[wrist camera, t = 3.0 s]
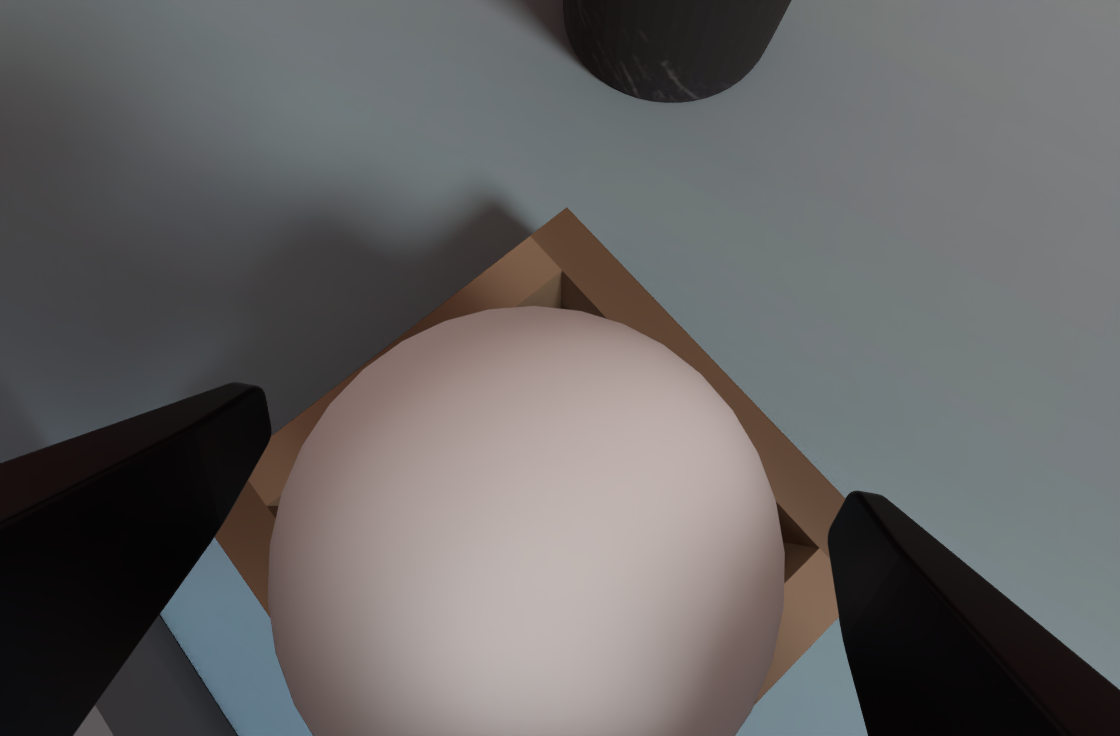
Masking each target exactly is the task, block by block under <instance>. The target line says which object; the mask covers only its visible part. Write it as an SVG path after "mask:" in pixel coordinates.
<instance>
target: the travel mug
mask: <svg viewBox="0 0 1120 736" xmlns="http://www.w3.org/2000/svg"><path fill="white" fill-rule="evenodd" d="M790 2H791V0H563V11H564V20H565V26H566V30H567V33H568V36H569V39H570V42H571V44H572V46H573V48H574V50H575V52H576V54H577V55H578V56H579V58H580V59H581V61H582V62H583V63H584V64H585V65H586V67H587V68H588V69H589V70H590V71H591V72H592V73H593V74H595V75H596V76H597V77H598V78H600V79H601V80H602V81H604V82H605V83H607V84H608V85H610V86H611V87H613V88H615V89H617V90H619V91H621V92H624V93H626V94H629V95H631V96H634V97H637V98H641V99H646V100H650V101H657V102H687V101H695V100H699V99H703V98H707V97H710V96H713V95H715V94H718V93H720V92H722V91H724V90H726V89H728V88H730V87H731V86H733V85H734V84H736V83H737V82H738V81H740V80H741V79H742V78H743V77H744V76H745V75H747V74H748V73H749V72H750V71H751V70H752V68H753V67H754V66H755V65H756V63H757V62H758V61H759V60H760V58H761V56H762V54H763V53H764V51H765V49H766V48H767V46H768V44H769V42H770V40H771V39H772V37H773V35H774V33H775V31H776V29H777V27H778V25H779V23H780V21H781V19H782V18H783V16H784V14H785V12H786V10H787V8H788V6H789V4H790Z"/></svg>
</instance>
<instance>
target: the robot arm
mask: <svg viewBox="0 0 1120 736" xmlns="http://www.w3.org/2000/svg"><path fill="white" fill-rule="evenodd" d="M270 438H271V423H270V418H269V412H268V407H267V401H266V396H265V393H264V391H263V389H262V388H260V387H258V386H255V385H249V384H243V383H236V382H235V383H229V384H226V385H224V386H221V387H218V388H215V389H212V390H209V391H206V392H204V393H201V394H198V395H195V396H192V397H189V398H186V399H183V400H181V401H178V402H175V403H172V404H169V405H166V406H163V407H161V408H158V409H155V410H152V411H149V412H146V413H143V414H140V415H138V416H135V417H132V418H129V419H126V420H123V421H120V422H117V423H115V424H112V425H109V426H106V427H103V428H100V429H97V430H95V431H92V432H89V433H86V434H83V435H80V436H77V437H74V438H72V439H69V440H66V441H63V442H60V443H57V444H54V445H52V446H49V447H46V448H43V449H40V450H37V451H34V452H31V453H29V454H26V455H23V456H20V457H17V458H14V459H11V460H9V461H6V462H3V463H0V736H73V735H74V734H75V733H76V731H77V730H78V728H79V727H80V726H81V724H82V723H83V721H84V720H85V719H86V717H87V716H88V714H89V713H90V712H91V710H92V709H93V707H94V706H95V704H96V703H97V702H98V700H99V699H100V697H101V696H102V695H103V693H104V692H105V690H106V689H107V688H108V686H109V685H110V683H111V682H112V681H113V679H114V678H115V676H116V675H117V674H118V672H119V671H120V669H121V668H122V666H123V665H124V664H125V662H126V661H127V659H128V658H129V657H130V655H131V654H132V652H133V651H134V650H135V648H136V647H137V645H138V644H139V643H140V641H141V640H142V638H143V637H144V636H145V634H146V633H147V631H148V630H149V629H150V627H151V626H152V624H153V623H154V621H155V620H156V619H157V617H158V616H159V614H160V613H161V612H162V610H163V609H164V607H165V606H166V605H167V603H168V602H169V600H170V599H171V598H172V596H173V595H174V593H175V592H176V591H177V589H178V588H179V586H180V585H181V583H182V582H183V581H184V579H185V578H186V576H187V575H188V574H189V572H190V571H191V569H192V568H193V567H194V565H195V564H196V562H197V561H198V560H199V558H200V557H201V555H202V554H203V553H204V551H205V550H206V548H207V547H208V546H209V544H210V543H211V541H212V540H213V538H214V537H215V535H216V534H217V532H218V531H219V529H220V528H221V526H222V525H223V523H224V521H225V520H226V518H227V517H228V515H229V513H230V511H231V510H232V508H233V506H234V504H235V503H236V501H237V499H238V497H239V495H240V494H241V492H242V490H243V488H244V487H245V485H246V483H247V481H248V479H249V478H250V476H251V474H252V472H253V471H254V469H255V467H256V465H257V463H258V462H259V460H260V458H261V456H262V455H263V453H264V451H265V449H266V447H267V446H268V444H269V441H270ZM828 550H829V556H830V563H831V569H832V576H833V582H834V588H835V595H836V601H837V608H838V614H839V621H840V627H841V632H842V637H843V642H844V646H845V651H846V655H847V659H848V662H849V666H850V670H851V674H852V677H853V681H854V685H855V688H856V692H857V696H858V700H859V703H860V707H861V711H862V714H863V718H864V722H865V726H866V729H867V733H868V736H1120V690H1119V689H1118V688H1117V687H1116V686H1114V685H1113V684H1112V683H1111V682H1110V681H1108V680H1107V679H1106V678H1105V677H1103V676H1102V675H1101V674H1100V673H1099V672H1097V671H1096V670H1095V669H1094V668H1092V667H1091V666H1090V665H1089V664H1088V663H1086V662H1085V661H1084V660H1083V659H1082V658H1080V657H1079V656H1078V655H1077V654H1075V653H1074V652H1073V651H1072V650H1071V649H1069V648H1068V647H1067V646H1066V645H1064V644H1063V643H1062V642H1061V641H1060V640H1058V639H1057V638H1056V637H1055V636H1053V635H1052V634H1051V633H1050V632H1049V631H1047V630H1046V629H1045V628H1044V627H1043V626H1041V625H1040V624H1039V623H1038V622H1036V621H1035V620H1034V619H1033V618H1032V617H1030V616H1029V615H1028V614H1027V613H1025V612H1024V611H1023V610H1022V609H1021V608H1019V607H1018V606H1017V605H1016V604H1014V603H1013V602H1012V601H1011V600H1010V599H1008V598H1007V597H1006V596H1005V595H1004V594H1002V593H1001V592H1000V591H999V590H997V589H996V588H995V587H994V586H993V585H991V584H990V583H989V582H988V581H986V580H985V579H984V578H983V577H982V576H980V575H979V574H978V573H977V572H975V571H974V570H973V569H972V568H971V567H969V566H968V565H967V564H966V563H965V562H963V561H962V560H961V559H960V558H958V557H957V556H956V555H955V554H954V553H952V552H951V551H950V550H949V549H947V548H946V547H945V546H944V545H943V544H941V543H940V542H939V541H938V540H937V539H935V538H934V537H933V536H932V535H930V534H929V533H928V532H927V531H926V530H924V529H923V528H922V527H921V526H919V525H918V524H917V523H916V522H915V521H913V520H912V519H911V518H910V517H908V516H907V515H906V514H905V513H904V512H902V511H901V510H900V509H899V508H898V507H896V506H895V505H894V504H893V503H891V502H890V501H889V500H888V499H887V498H885V497H884V496H882V495H879V494H875V493H869V492H863V491H853V492H851V493H849V494H848V496H847V497H846V499H845V500H844V502H843V504H842V506H841V508H840V510H839V511H838V513H837V515H836V517H835V519H834V521H833V522H832V524H831V526H830V529H829V532H828Z"/></svg>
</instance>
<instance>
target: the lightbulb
mask: <svg viewBox="0 0 1120 736" xmlns="http://www.w3.org/2000/svg"><path fill="white" fill-rule="evenodd" d="M784 561H785V552H784V546H783V540H782V534H781V529H780V523H779V517H778V511H777V505H776V500H775V498H774V495H773V492H772V489H771V487H770V484H769V481H768V479H767V476H766V473H765V471H764V468H763V465H762V462H761V460H760V457H759V454H758V452H757V451H756V449H755V447H754V445H753V444H752V442H751V440H750V439H749V437H748V435H747V434H746V432H745V430H744V429H743V427H742V425H741V424H740V422H739V420H738V419H737V417H736V415H735V414H734V412H733V410H732V409H731V408H730V407H729V406H728V404H727V403H726V402H725V401H724V400H723V399H722V398H721V396H720V395H719V394H718V393H717V392H716V391H715V390H714V389H713V387H712V386H711V385H710V384H709V383H708V382H707V381H706V379H705V378H704V377H703V376H702V375H701V374H700V373H699V372H698V371H696V370H695V369H694V368H693V367H691V366H690V365H689V364H687V363H686V362H685V361H684V360H682V359H681V358H680V357H679V356H677V355H676V354H675V353H673V352H672V351H671V350H670V349H668V348H667V347H666V346H665V345H663V344H661V343H659V342H657V341H655V340H653V339H651V338H649V337H648V336H646V335H644V334H642V333H640V332H638V331H636V330H634V329H632V328H630V327H628V326H626V325H625V324H622V323H618V322H615V321H612V320H609V319H605V318H602V317H599V316H595V315H592V314H589V313H586V312H582V311H576V310H567V309H558V308H549V307H540V306H526V307H513V308H500V309H488V310H485V311H481V312H477V313H473V314H470V315H466V316H462V317H458V318H455V319H451V320H447V321H444V322H442V323H440V324H437V325H435V326H433V327H431V328H429V329H427V330H425V331H423V332H421V333H419V334H416V335H414V336H412V337H410V338H408V339H406V340H404V341H402V342H400V343H399V344H398V345H396V346H395V347H394V348H392V349H391V350H389V351H388V352H387V353H385V354H384V355H382V356H381V357H380V358H378V359H377V360H376V361H374V362H373V363H371V364H370V365H369V366H367V367H366V368H364V369H363V370H362V371H361V372H360V373H359V374H358V375H357V376H356V378H355V379H354V380H353V381H352V382H351V383H350V384H349V385H348V386H347V387H346V388H345V389H344V390H343V391H342V392H341V393H340V394H339V395H338V396H337V397H336V398H335V399H334V400H333V401H332V402H331V403H330V405H329V406H328V408H327V409H326V411H325V412H324V414H323V415H322V417H321V418H320V420H319V421H318V423H317V424H316V426H315V427H314V429H313V430H312V432H311V433H310V435H309V436H308V438H307V439H306V441H305V442H304V444H303V445H302V447H301V449H300V452H299V454H298V456H297V459H296V461H295V463H294V466H293V468H292V470H291V473H290V475H289V477H288V480H287V482H286V484H285V487H284V489H283V491H282V494H281V498H280V502H279V507H278V511H277V515H276V520H275V524H274V529H273V533H272V537H271V542H270V551H269V576H268V605H269V611H270V618H271V625H272V631H273V638H274V644H275V651H276V655H277V658H278V661H279V663H280V666H281V669H282V672H283V674H284V677H285V680H286V683H287V686H288V688H289V691H290V694H291V697H292V699H293V702H294V705H295V707H296V708H297V710H298V712H299V713H300V715H301V717H302V718H303V720H304V722H305V723H306V725H307V726H308V728H309V730H310V731H311V733H312V735H313V736H735V735H736V733H737V732H738V730H739V729H740V727H741V726H742V724H743V723H744V722H745V720H746V719H747V717H748V716H749V714H750V713H751V711H752V708H753V706H754V704H755V701H756V699H757V697H758V694H759V692H760V689H761V687H762V685H763V682H764V680H765V677H766V675H767V673H768V670H769V668H770V665H771V663H772V661H773V656H774V652H775V647H776V642H777V637H778V632H779V627H780V622H781V618H782V613H783V608H784Z"/></svg>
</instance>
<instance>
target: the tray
mask: <svg viewBox="0 0 1120 736" xmlns="http://www.w3.org/2000/svg"><path fill="white" fill-rule="evenodd" d="M73 736H237V735H236V733H235V732H234V730H233V729H232V727H231V726H230V724H229V722H228V721H227V719H226V718H225V716H224V715H223V713H222V712H221V710H220V708H219V707H218V705H217V704H216V702H215V701H214V699H213V698H212V696H211V694H210V693H209V691H208V690H207V688H206V687H205V685H204V684H203V682H202V681H201V679H200V677H199V676H198V674H197V673H196V671H195V670H194V668H193V667H192V665H191V663H190V662H189V660H188V659H187V657H186V656H185V654H184V653H183V651H182V649H181V648H180V646H179V645H178V643H177V642H176V640H175V639H174V637H173V635H172V634H171V632H170V631H169V629H168V628H167V626H166V625H165V623H164V622H163V620H162V618H161V617H160V615H159V616H158V617H157V619H156V620H155V621H154V623H153V624H152V626H151V627H150V629H149V630H148V631H147V633H146V634H145V636H144V637H143V638H142V640H141V641H140V643H139V644H138V645H137V647H136V648H135V650H134V651H133V652H132V654H131V655H130V657H129V658H128V659H127V661H126V662H125V664H124V665H123V666H122V668H121V669H120V671H119V672H118V674H117V675H116V676H115V678H114V679H113V681H112V682H111V683H110V685H109V686H108V688H107V689H106V690H105V692H104V693H103V695H102V696H101V697H100V699H99V700H98V702H97V703H96V704H95V706H94V707H93V709H92V710H91V712H90V713H89V714H88V716H87V717H86V719H85V720H84V721H83V723H82V724H81V726H80V727H79V728H78V730H77V731H76V733H75V734H74V735H73Z"/></svg>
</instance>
